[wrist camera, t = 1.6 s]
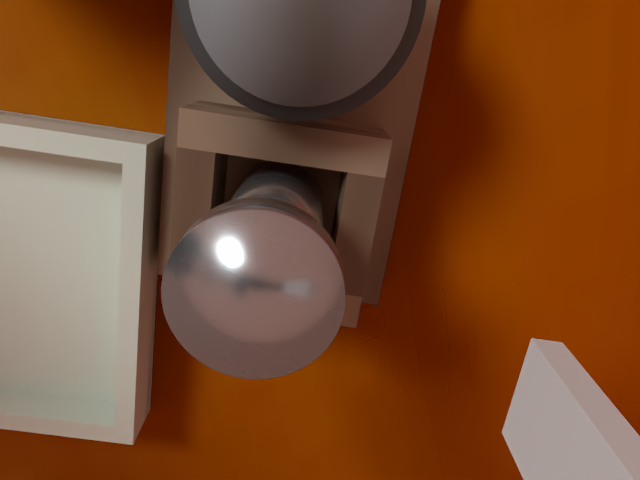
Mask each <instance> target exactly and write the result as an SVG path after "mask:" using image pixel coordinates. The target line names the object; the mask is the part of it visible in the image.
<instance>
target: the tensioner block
mask: <svg viewBox="0 0 640 480" xmlns="http://www.w3.org/2000/svg"><path fill="white" fill-rule="evenodd" d="M440 2H441V0H172V17H171V35H170V53H169V71H168V89H167V107H166V125H165V143H164V161H163V179H162V197H161V215H160V232H159V250H158V268H157V275H163V273H164V269H165V266H166V264H167V261H168V259H169V257H170V255H171V253H172V252H173V250H174V249H175V247H176V246H177V244H178V243H179V242H180V240H181V239H182V238H183V236H184V235H185V234H186V232H187V231H188V230H189V229H190V227H191V226H192V225H193V224H194V223H195V222H196V221H197V220H198V219H199V218H200V217H201V216H202V215H204V214H205V213H206V212H208V211H210V210H211V209H213V208H214V207H217V206H219V205H221V204H223V203H226V202H229V201H231V199H232V197H233V196H234V194H235V192H236V191H237V189H238V188H239V186H240V184H241V183H242V181H243V180H244V178H245V177H246V176H247V174H248V173H249V172H250V171H252V170H253V169H254V168H256V167H257V166H259V165H261V164H263V163H266V162H270V161H274V162H281V163H288V164H294V165H299V166H301V167H303V168H304V169H306V170H307V171H308V172H309V173H310V174H311V175H312V176H313V177H314V178H315V180H316V181H317V183H318V185H319V187H320V189H321V193H322V198H323V227H324V229H325V230H326V231H327V232H328V234H329V235H330V237H331V238H332V240H333V241H334V243H335V245H336V247H337V249H338V252H339V255H340V258H341V262H342V268H343V276H344V285H345V310H344V315H343V319H342V323H341V325H340V326H344V327H351V328H356V327H357V322H358V317H359V311H360V306H361V303H365V304H373V305H378V304H379V299H380V294H381V289H382V284H383V279H384V275H385V270H386V265H387V260H388V255H389V250H390V245H391V240H392V236H393V231H394V226H395V221H396V216H397V211H398V206H399V201H400V197H401V192H402V187H403V182H404V177H405V172H406V167H407V162H408V158H409V153H410V148H411V143H412V138H413V133H414V128H415V124H416V119H417V114H418V109H419V104H420V99H421V94H422V89H423V85H424V80H425V75H426V70H427V65H428V60H429V55H430V50H431V46H432V41H433V36H434V31H435V26H436V21H437V16H438V11H439V7H440Z"/></svg>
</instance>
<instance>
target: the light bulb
mask: <svg viewBox="0 0 640 480" xmlns="http://www.w3.org/2000/svg"><path fill="white" fill-rule="evenodd" d="M161 300H162V307H163V311H164V315H165V318H166V321H167V323H168V325H169V327H170V329H171V331H172V333H173V334H174V336H175V337H176V339H177V340H178V342H179V343H180V344H181V345H182V346H183V348H184V349H185V350H186V351H187V352H189V353H190V354H191V355H192V356H193V357H194V358H196V359H197V360H198V361H200V362H201V363H203V364H204V365H206V366H208V367H210V368H211V369H214V370H216V371H218V372H221V373H223V374H227V375H230V376H234V377H239V378H245V379H268V378H275V377H280V376H283V375H287V374H290V373H292V372H295V371H297V370H300V369H301V368H303V367H305V366H307V365H308V364H310V363H311V362H313V361H314V360H315V359H317V358H318V357H319V356H320V355H321V354H322V353H323V352H324V351H325V350H326V349H327V348H328V346H329V345H330V344H331V343H332V341H333V339H334V338H335V336H336V334H337V332H338V330H339V328H340V325H341V323H342V319H343V315H344V310H345V285H344V276H343V268H342V262H341V258H340V255H339V252H338V249H337V247H336V245H335V243H334V241H333V240H332V238H331V237H330V235H329V234H328V232H327V231H326V230H325V229H324V227H323V198H322V193H321V189H320V187H319V185H318V183H317V181H316V180H315V178H314V177H313V176H312V175H311V174H310V173H309V172H308V171H307V170H306V169H304V168H303V167H301V166H299V165H294V164H288V163H281V162H274V161H270V162H266V163H263V164H261V165H259V166H257V167H256V168H254V169H253V170H252V171H250V172H249V173H248V174H247V176H246V177H245V178H244V180H243V181H242V183H241V184H240V186H239V188H238V189H237V191H236V192H235V194H234V196H233V197H232V199H231V201H229V202H226V203H223V204H221V205H219V206H217V207H214V208H213V209H211V210H210V211H208V212H206V213H205V214H204V215H202V216H201V217H200V218H199V219H198V220H197V221H196V222H195V223H194V224H193V225H192V226H191V227H190V229H189V230H188V231H187V232H186V234H185V235H184V236H183V238H182V239H181V240H180V242H179V243H178V244H177V246H176V247H175V249H174V250H173V252H172V253H171V255H170V257H169V259H168V261H167V264H166V266H165V269H164V273H163V276H162V284H161Z"/></svg>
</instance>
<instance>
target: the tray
mask: <svg viewBox="0 0 640 480" xmlns="http://www.w3.org/2000/svg"><path fill="white" fill-rule="evenodd" d="M164 143H165V135H162V134H156V133H149V132H142V131H136V130H129V129H122V128H116V127H109V126H102V125H96V124H89V123H82V122H76V121H69V120H63V119H56V118H49V117H43V116H36V115H29V114H23V113H16V112H9V111H3V110H0V429H7V430H15V431H23V432H31V433H39V434H48V435H56V436H64V437H72V438H80V439H88V440H96V441H104V442H113V443H121V444H129V445H133V444H134V442H135V440H136V438H137V436H138V434H139V432H140V430H141V427H142V425H143V423H144V421H145V419H146V417H147V415H148V413H149V411H150V403H151V385H152V367H153V349H154V332H155V314H156V296H157V278H158V275H157V268H158V250H159V232H160V215H161V197H162V179H163V161H164Z"/></svg>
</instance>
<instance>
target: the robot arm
mask: <svg viewBox="0 0 640 480" xmlns="http://www.w3.org/2000/svg"><path fill="white" fill-rule="evenodd" d="M502 434H503V436H504V438H505V441H506V443H507V445H508V447H509V449H510V451H511V454H512V456H513V458H514V460H515V462H516V464H517V467H518V469H519V471H520V473H521V475H522V477H523V480H640V436H639V435H638V434H637V433H636V431H635V430H634V429H633V428H632V426H631V425H630V424H629V423H628V422H627V420H626V419H625V418H624V417H623V416H622V414H621V413H620V412H619V411H618V409H617V408H616V407H615V406H614V405H613V403H612V402H611V401H610V400H609V399H608V397H607V396H606V395H605V394H604V392H603V391H602V390H601V389H600V388H599V386H598V385H597V384H596V383H595V382H594V380H593V379H592V378H591V377H590V375H589V374H588V373H587V372H586V371H585V369H584V368H583V367H582V366H581V364H580V363H579V362H578V361H577V360H576V358H575V357H574V356H573V355H572V354H571V352H570V351H569V350H568V349H567V347H566V346H565V345H564V344H563V343H562V342H555V341H548V340H541V339H534V338H531V341H530V344H529V347H528V350H527V353H526V357H525V360H524V363H523V366H522V369H521V373H520V376H519V379H518V382H517V385H516V389H515V392H514V395H513V398H512V401H511V405H510V408H509V411H508V414H507V417H506V420H505V424H504V427H503V430H502Z"/></svg>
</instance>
